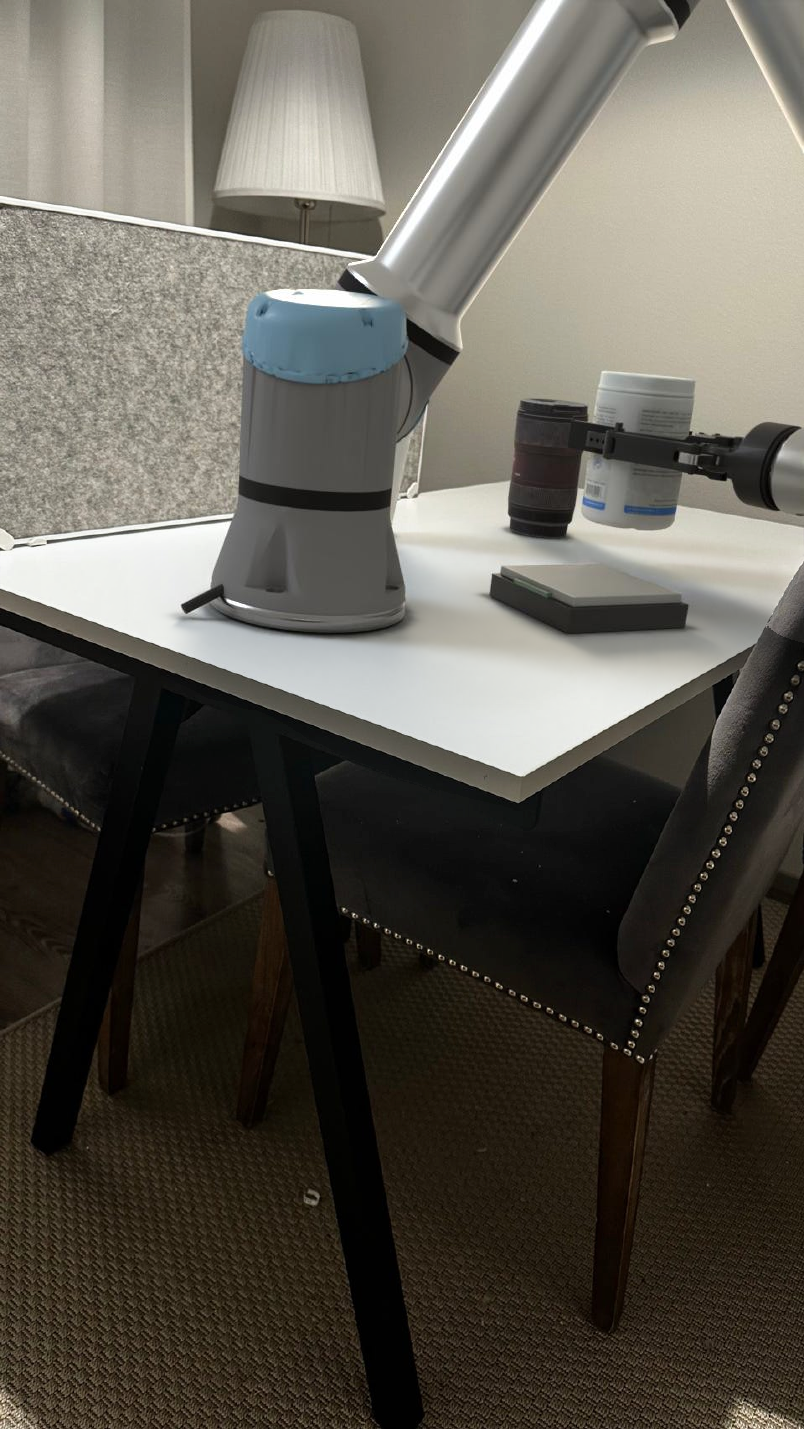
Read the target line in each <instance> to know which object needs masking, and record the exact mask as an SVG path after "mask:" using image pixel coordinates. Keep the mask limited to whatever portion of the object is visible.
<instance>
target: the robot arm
mask: <svg viewBox="0 0 804 1429" xmlns="http://www.w3.org/2000/svg"><path fill="white" fill-rule="evenodd" d="M700 1H701V0H535V2H534V4H533V5H532V6H531V9H530V10H529V12H528V13H527V15H526V17H525V18H524V20H523V21H522V23H521V24H520V26H519V28H518V29H517V30H516V33H515V34H514V36H513V37H512V39H511V40H510V42H509V43H508V46H507V47H506V48H505V49H504V52H502V55H501V56H500V58H499V60H498V61H497V63H496V64H495V66H494V67H493V69H492V71H491V72H490V74H489V75H488V77H487V78H486V80H485V82H484V83H483V85H482V87H481V88H480V90H479V92H478V93H477V95H476V96H475V98H474V100H473V101H472V103H471V104H470V106H469V107H468V109H467V110H466V112H465V114H464V115H463V117H462V118H461V120H460V121H459V123H458V124H457V126H456V128H455V130H454V131H453V132H452V134H451V136H450V137H449V139H448V140H447V142H446V144H445V145H444V147H443V149H442V150H441V151H440V153H439V155H438V156H437V158H436V160H435V161H434V163H433V164H432V166H431V168H430V169H429V171H428V172H427V174H426V175H425V177H424V179H423V180H422V182H421V183H420V185H419V187H418V188H417V190H416V192H415V193H414V195H413V196H412V198H411V200H410V201H409V203H408V204H407V206H406V207H405V209H404V211H403V212H402V213H401V215H400V216H399V218H398V220H397V222H396V223H395V225H394V227H393V228H392V230H391V231H390V233H389V235H388V236H387V237H386V239H385V241H384V242H383V244H382V245H381V247H380V249H379V250H378V252H377V254H376V255H375V256H373V257H371V258H370V259H366V260H365V259H364V260H361V261H356V262H351V263H348V265H347V266H346V267H345V269H344V271H343V272H342V274H341V275H340V277H339V278H338V280H337V281H336V283H335V285H334V286H333V288H332V289H315V288H314V289H313V288H299V289H295V290H294V289H289V288H283V289H282V288H281V289H272V290H267V291H264V292H261V293H259V294H257V295H256V296H255V297H253V298H252V299H251V301H250V302H249V304H248V306H247V310H246V315H245V316H246V317H245V325H244V326H245V327H244V331H243V332H242V335H241V350H242V354H243V355H242V356H243V358H242V380H241V381H242V382H241V383H242V386H241V406H240V407H241V411H240V433H239V434H240V436H239V462H238V464H239V465H238V488H237V489H238V490H237V503H236V507H235V511H234V513H233V516H232V519H231V521H230V524H229V526H228V529H227V532H226V535H225V538H224V540H223V543H222V546H221V549H220V551H219V554H218V557H217V559H216V562H215V564H214V567H213V570H212V575H211V582H210V588H209V590H206V591H204V592H202V593H201V594H200V593H199V594H198V595H197V596H194V597H193V598H191V599H188V600H186V601H184V602H183V603H181V604H180V608H181V610H182V611H183V613H184V614H185V615H188V614H189V613H191V612H193V611H195V610H197V609H200V607H201V608H202V606H205V605H207V604H209V603H210V604H211V606H212V607H213V608H214V609H215V610H217V611H218V612H219V613H222V615H223V614H224V615H226V616H228V617H230V618H233V619H234V620H235V619H236V620H239V621H242V622H244V623H249V624H252V625H257V626H261V627H266V628H273V629H278V630H279V629H280V630H287V631H294V632H295V631H296V632H307V633H335V634H337V633H355V632H356V633H357V632H366V631H367V632H368V631H373V630H378V629H383V628H386V627H389V626H393V625H395V624H397V623H399V622H400V621H401V620H403V618H404V616H405V613H406V612H405V611H406V600H407V597H406V584H405V580H404V579H405V578H404V575H403V570H402V566H401V560H400V558H399V552H398V548H397V544H396V539H395V534H394V530H393V524H392V525H391V520H390V508H391V496H392V486H393V475H394V463H395V452H396V444H397V443H399V442H400V441H401V440H402V438H405V437H407V436H408V435H409V434H410V433H411V432H412V431H413V430H414V431H415V428H417V426H418V424H419V423H420V421H421V420H422V418H423V417H424V415H425V413H426V410H427V406H428V405H429V404H430V398H431V397H432V395H433V394H434V392H435V391H436V389H437V388H438V387H439V385H440V383H441V382H442V380H443V379H444V377H445V376H446V374H447V373H448V372H449V370H450V368H451V367H452V366H453V364H454V362H456V360H457V358H458V357H459V355H460V353H461V352H462V350H463V348H464V346H463V340H462V331H461V321H462V318H463V317H464V315H465V314H466V312H467V311H468V309H469V308H470V306H471V305H472V303H473V302H474V300H475V299H476V297H477V296H478V294H479V293H480V291H481V290H482V288H483V287H484V285H485V284H486V282H487V281H488V279H489V278H490V277H491V275H492V273H493V272H494V271H495V269H496V268H497V266H498V265H499V264H500V262H501V260H502V259H503V257H504V256H505V254H506V253H507V251H508V250H509V248H510V247H511V246H512V244H513V243H514V241H515V240H516V238H517V237H518V235H519V234H520V232H521V231H522V229H523V228H524V226H525V225H526V223H527V222H528V220H529V218H530V217H531V216H532V214H533V213H534V211H535V210H536V208H537V207H538V205H539V204H540V203H541V201H542V199H543V198H544V196H545V195H546V193H547V192H548V190H550V188H551V186H552V184H554V181H555V180H556V178H557V177H558V176H559V174H560V173H561V171H562V170H563V168H564V167H565V165H566V164H567V162H568V160H569V159H570V158H571V157H572V155H573V153H574V151H576V149H577V148H578V146H579V144H580V143H581V141H582V140H583V138H584V137H585V136H586V134H587V133H588V131H589V130H590V128H591V127H592V125H593V123H594V122H595V121H596V119H597V118H598V116H599V115H600V113H601V112H602V110H603V109H604V107H605V106H606V105H607V103H608V101H610V99H611V96H613V94H614V92H615V91H616V89H617V88H618V87H619V85H620V83H621V82H622V80H623V79H624V77H625V76H626V75H627V73H628V72H629V70H630V69H631V68H632V66H633V64H634V63H635V62H636V59H638V57H639V56H640V54H641V52H643V50H644V48H646V47H648V46H650V45H654V44H658V43H663V42H668V41H671V40H674V39H675V38H676V37H677V35H679V32H680V31H681V29H682V28H683V26H684V25H685V24H686V22H687V20H688V19H689V18H690V16H691V15H692V13H693V12H694V10H695V9H696V8H697V6H698V5H699V3H700ZM725 2H726V3H727V6H728V8H729V10H730V12H731V14H732V16H733V18H734V20H735V21H736V23H737V26H738V27H739V29H740V31H741V34H742V35H743V38H744V39H745V41H746V43H747V45H748V47H749V50H750V52H751V54H752V55H753V57H754V59H755V61H756V63H757V64H758V67H759V68H760V70H761V72H762V74H763V77H764V78H765V80H766V82H767V84H768V86H769V88H770V90H771V92H772V94H773V96H774V98H775V100H776V102H777V104H778V106H779V108H780V110H781V112H782V114H783V116H784V118H785V120H786V121H787V123H788V126H789V127H790V129H791V131H792V133H793V136H794V137H795V139H796V141H797V143H798V145H799V147H800V150H801V151H802V153H803V154H804V0H725ZM567 447H568V448H573V449H578V450H582V451H583V452H587V453H589V452H592V453H597V454H601V455H603V456H602V457H603V458H606V459H607V460H611V459H614V460H620V461H626V462H631V463H637V464H643V465H649V466H655V467H660V468H666V469H672V470H677V471H681V472H682V474H683V473H684V474H687V475H688V476H689V475H690V476H694V475H695V476H696V475H697V476H704V477H706V478H708V479H709V480H712V481H719V482H728V479H729V480H731V483H732V488H733V491H734V494H735V496H736V498H738V500H739V501H740V502H741V503H742V504H745V505H746V506H751V507H754V508H759V509H764V510H769V511H773V512H783V513H784V514H789V515H793V516H797V517H804V427H801V426H798V425H793V424H785V423H779V422H775V421H764V422H760V423H758V424H756V425H755V426H753V427H752V428H751V429H750V430H748V432H747V433H746V434H745V435H744V436H740V435H739V436H738V435H736V436H729V435H724V434H723V435H722V434H721V433H717V432H715V433H711V435H710V434H707V433H704V432H702V431H698V432H695V433H694V434H693V431H692V430H689V436H688V437H686V438H685V439H678V438H671V437H663V436H656V435H649V434H641V433H634V432H626V431H625V429H623V423H620V422H616V423H615V427H612V426H606V425H601V424H595V423H593V422H591V421H590V422H589V421H588V422H584V421H579V420H571V425H570V432H569V439H568V446H567Z"/></svg>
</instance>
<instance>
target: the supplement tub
mask: <svg viewBox="0 0 804 1429" xmlns="http://www.w3.org/2000/svg"><path fill="white" fill-rule="evenodd" d="M597 388H598V389H597V392H596V399H595V405H594V412H593V413H594V415H593V418H592V419H593V420H592V423H595V424H601V425H606V426H612V427H615V423H616V422H620V423H623V429H625V431H626V432H634V433H641V434H649V435H656V436H663V437H671V438H678V439H685V438H686V437H688V436H689V431H691V430H690V429H691V423H692V417H693V411H694V406H695V389H696V380H695V379H694V378H693V379H692V378H687V377H686V378H685V377H678V376H671V375H670V376H668V375H659V374H649V373H639V372H638V373H636V372H624V371H614V370H613V371H612V370H602V371H601V373H600V379H599V384H598V385H597ZM602 456H603V455H601V454H597V453H592V452H588V459H587V465H586V473H585V480H584V486H583V494H582V495H583V496H582V500H581V501H582V503H581V509H580V511H581V514H582V516H583V517H584V518H585V519H586V520H587V521H590V522H592V523H595V524H598V525H602V526H607V527H612V528H617V529H623V530H629V529H633V530H636V531H652V532H653V531H661V530H665V529H668V528H670V527H671V526H672V525H673V524H674V523H675V518H676V513H677V507H678V501H679V496H680V490H681V485H682V484H681V483H682V478H683V472H681V471H677V470H672V469H666V468H660V467H655V466H649V465H643V464H637V463H631V462H626V461H620V460H614V459H611V460H607V459H606V458H603V457H602Z"/></svg>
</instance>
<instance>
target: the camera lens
mask: <svg viewBox="0 0 804 1429" xmlns="http://www.w3.org/2000/svg"><path fill="white" fill-rule="evenodd" d="M588 408H589V405H588V404H587V403H582V402H578V401H571V400H564V399H563V400H562V399H551V398H531V397H530V398H526V397H525V398H521V399H520V401H519V406H518V408H517V412H516V417H515V418H516V419H515V427H514V437H513V438H514V439H513V445H514V446H513V447H514V451H513V461H512V466H511V467H512V468H511V474H510V475H511V476H510V481H509V489H508V496H507V515H508V516H509V518H510V519H509V529H510V531H512V532H514V533H517V534H521V535H525V536H529V537H538V538H545V539H560V538H564V537H566V536H567V532H568V527H569V525H570V524H571V523H572V522H573V518H574V514H575V510H576V505H577V500H578V492H579V488H578V486H579V478H580V473H581V465H582V456H583V453H584V451H582V450H578V449H573V448H568V447H567V446H568V439H569V432H570V425H571V420H579V421H584V422H589V416H590V415H589V412H588V411H589V410H588Z"/></svg>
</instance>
